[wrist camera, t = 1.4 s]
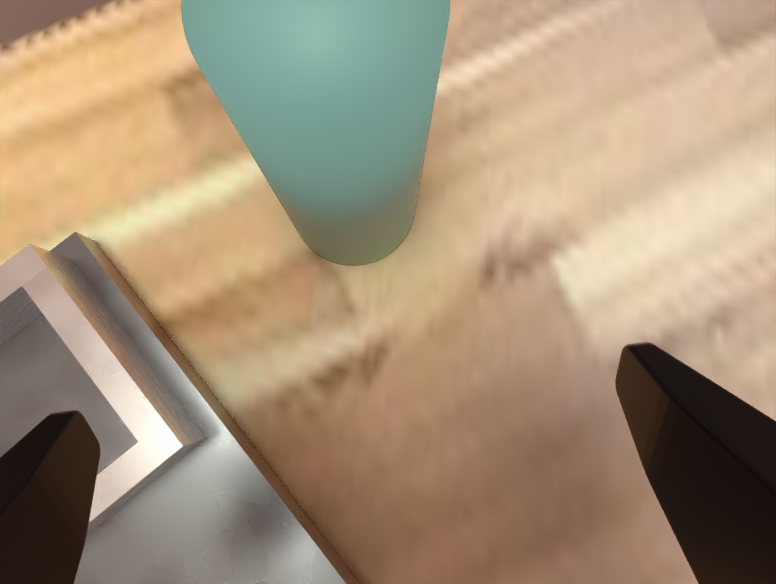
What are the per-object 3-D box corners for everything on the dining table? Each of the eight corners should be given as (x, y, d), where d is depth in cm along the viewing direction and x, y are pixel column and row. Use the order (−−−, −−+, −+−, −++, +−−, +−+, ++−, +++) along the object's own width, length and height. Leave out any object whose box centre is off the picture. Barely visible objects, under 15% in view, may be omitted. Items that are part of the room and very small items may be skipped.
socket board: (378, 607, 21) (376, 659, 17) (66, 884, 20) (-13, 1009, 16) (95, 241, 23) (35, 213, 19) (-207, 469, 22) (-337, 490, 18)
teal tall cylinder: (439, 213, 24) (505, 16, 11) (344, 290, 23) (293, 181, 10) (362, 124, 24) (336, -166, 11) (267, 197, 24) (128, -18, 11)
